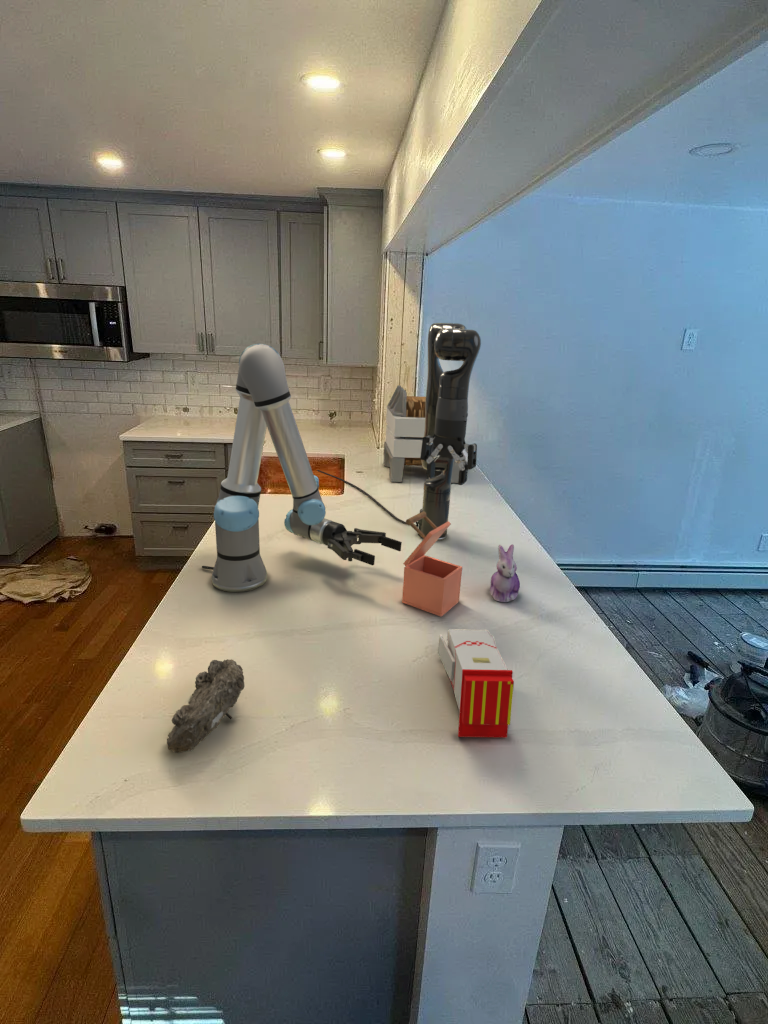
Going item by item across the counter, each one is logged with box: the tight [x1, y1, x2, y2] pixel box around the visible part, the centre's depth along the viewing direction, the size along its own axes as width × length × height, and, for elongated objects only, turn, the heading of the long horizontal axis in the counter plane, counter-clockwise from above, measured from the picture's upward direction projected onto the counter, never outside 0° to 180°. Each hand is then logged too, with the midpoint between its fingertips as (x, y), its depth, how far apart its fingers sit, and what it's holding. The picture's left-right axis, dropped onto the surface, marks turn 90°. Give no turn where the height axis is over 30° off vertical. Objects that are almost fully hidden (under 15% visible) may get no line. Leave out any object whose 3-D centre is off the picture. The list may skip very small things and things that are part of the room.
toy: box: [437, 628, 515, 738], centre depth 117 cm, size 12×13×30 cm
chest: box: [401, 554, 463, 617], centre depth 152 cm, size 12×10×11 cm
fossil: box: [166, 658, 245, 754], centre depth 106 cm, size 22×10×15 cm
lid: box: [402, 511, 452, 567], centre depth 151 cm, size 13×10×8 cm
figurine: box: [489, 544, 521, 603], centre depth 157 cm, size 9×10×15 cm
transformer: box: [383, 384, 461, 484], centre depth 268 cm, size 34×33×41 cm
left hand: (387, 553), depth 159 cm, fingers open, 13 cm apart
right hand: (446, 480), depth 142 cm, fingers open, 8 cm apart
